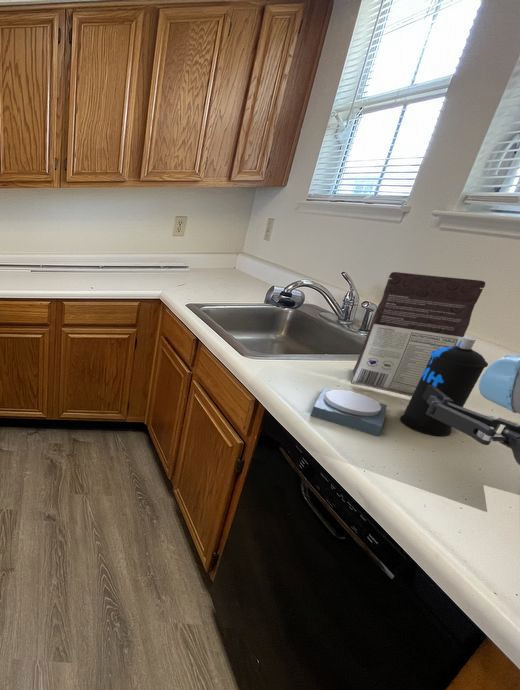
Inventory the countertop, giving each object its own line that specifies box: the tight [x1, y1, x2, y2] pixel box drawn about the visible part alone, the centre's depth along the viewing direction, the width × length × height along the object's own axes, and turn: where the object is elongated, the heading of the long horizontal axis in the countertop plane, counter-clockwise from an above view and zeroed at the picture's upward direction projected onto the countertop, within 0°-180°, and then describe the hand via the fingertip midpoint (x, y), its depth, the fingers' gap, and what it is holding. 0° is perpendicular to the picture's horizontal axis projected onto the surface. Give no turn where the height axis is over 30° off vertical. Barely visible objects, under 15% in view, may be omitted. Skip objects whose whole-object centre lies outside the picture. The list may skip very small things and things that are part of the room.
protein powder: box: [350, 271, 486, 397], centre depth 99 cm, size 16×9×28 cm, turn 54°
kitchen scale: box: [310, 387, 388, 437], centre depth 92 cm, size 12×12×3 cm
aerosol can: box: [399, 336, 489, 437], centre depth 85 cm, size 8×8×20 cm
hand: (471, 396), depth 78 cm, fingers open, 13 cm apart
